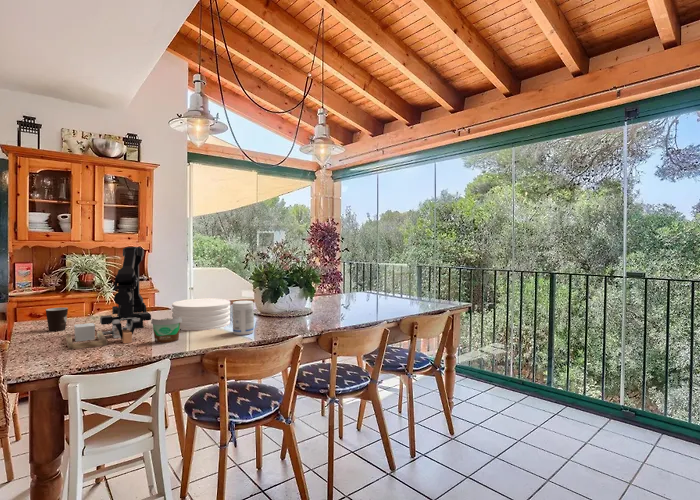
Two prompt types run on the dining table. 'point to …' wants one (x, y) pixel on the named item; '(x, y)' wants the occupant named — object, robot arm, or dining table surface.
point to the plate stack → (202, 313)
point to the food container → (166, 330)
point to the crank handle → (126, 335)
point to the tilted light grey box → (84, 332)
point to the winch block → (115, 331)
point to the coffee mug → (56, 319)
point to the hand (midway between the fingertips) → (126, 338)
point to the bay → (86, 344)
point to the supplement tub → (243, 317)
